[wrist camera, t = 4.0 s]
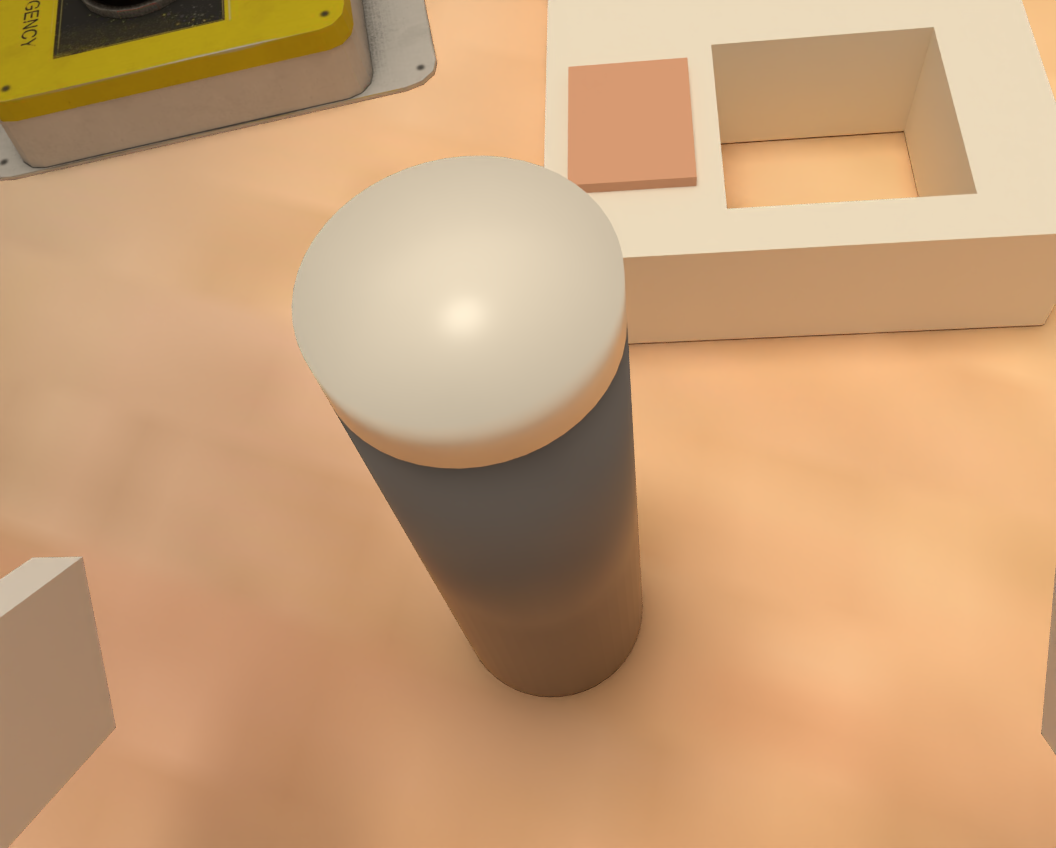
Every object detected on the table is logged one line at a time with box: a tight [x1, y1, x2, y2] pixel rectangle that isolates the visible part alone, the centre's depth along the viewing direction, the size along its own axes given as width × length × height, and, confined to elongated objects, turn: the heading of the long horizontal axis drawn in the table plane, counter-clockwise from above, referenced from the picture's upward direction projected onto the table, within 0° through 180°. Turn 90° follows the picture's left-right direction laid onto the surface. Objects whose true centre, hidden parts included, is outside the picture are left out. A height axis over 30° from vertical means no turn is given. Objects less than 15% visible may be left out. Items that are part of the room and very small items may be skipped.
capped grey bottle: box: [292, 156, 642, 697], centre depth 17 cm, size 4×4×12 cm
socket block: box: [544, 0, 1056, 344], centre depth 27 cm, size 12×16×4 cm
